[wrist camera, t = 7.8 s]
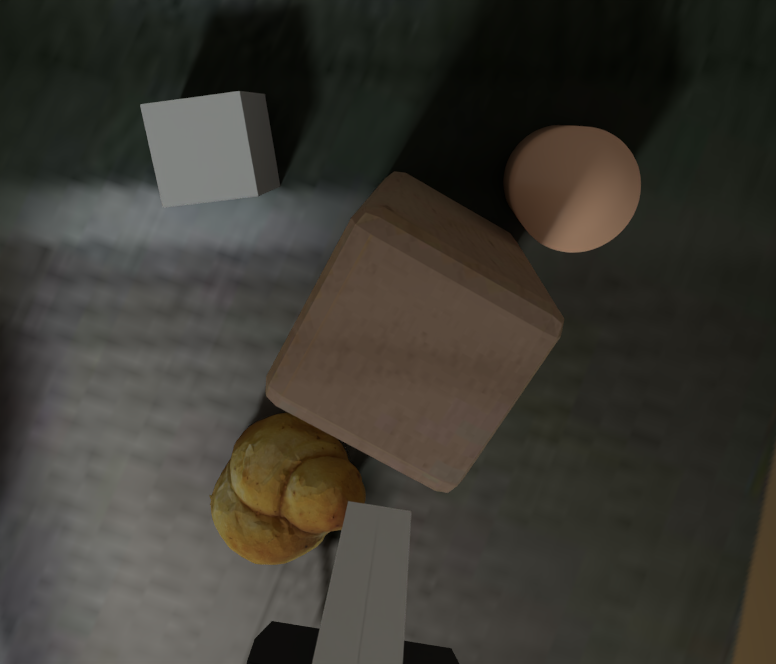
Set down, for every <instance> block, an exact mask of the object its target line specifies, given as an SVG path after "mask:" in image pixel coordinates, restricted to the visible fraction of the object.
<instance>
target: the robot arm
mask: <svg viewBox="0 0 776 664" xmlns="http://www.w3.org/2000/svg"><path fill="white" fill-rule="evenodd" d="M410 526H411V511H407V510H401V509H395V508H388V507H382V506H376V505H369V504H363V503H357V502H350V501H348V504H347V509H346V513H345V518H344V522H343V527H342V531H341V536H340V540H339V545H338V549H337V554H336V558H335V563H334V567H333V572H332V576H331V581H330V585H329V590H328V594H327V599H326V603H325V607H324V612H323V616H322V621H321V625H320V629H318V628H311V627H305V626H299V625H293V624H287V623H281V622H274V621H272V622H271V623H270V624H269V625H268V626H267V627H266V628H265V629H264V630H263V631H262V632H261V633H260V634H259V635H258V636H257V637H256V638H255V640H254V643H253V646H252V649H251V651H250V654H249V657H248V660H247V664H459V662H458V660H457V659H456V657H455V655H454V653H453V651H452V649H451V648H446V647H439V646H433V645H427V644H421V643H415V642H409V641H404V632H405V614H406V597H407V579H408V561H409V544H410Z"/></svg>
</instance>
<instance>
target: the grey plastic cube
mask: <svg viewBox="0 0 776 664" xmlns="http://www.w3.org/2000/svg"><path fill="white" fill-rule="evenodd" d="M140 106H141V111H142V115H143V120H144V124H145V129H146V134H147V138H148V143H149V147H150V152H151V156H152V161H153V165H154V170H155V174H156V179H157V183H158V188H159V192H160V197H161V202H162V206H163V208H164V207H172V206H181V205H189V204H197V203H206V202H214V201H222V200H230V199H239V198H247V197H255V196H260V195H262V194H264V193H266V192H269V191H271V190H273V189H275V188H278V187H280V182H279V176H278V170H277V164H276V158H275V152H274V146H273V140H272V134H271V128H270V122H269V116H268V110H267V104H266V98H265V94H260V93H252V92H244V91H235V92H228V93H221V94H214V95H206V96H199V97H192V98H184V99H177V100H170V101H163V102H155V103H148V104H141V105H140Z"/></svg>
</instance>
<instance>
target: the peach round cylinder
mask: <svg viewBox="0 0 776 664" xmlns="http://www.w3.org/2000/svg"><path fill="white" fill-rule="evenodd" d="M503 188H504V194H505V198H506V201H507V203H508V205H509V207H510V209H511V211H512V212H513V213H514V215H515V216H516V217H517V219H518V220H519V221H520V223H521V224H522V225H523V226H524V228H525V229H526V230H527V231H528V233H529V234H530V235H531V236H532V237H533V238H534V239H535V240H537V241H538V242H540V243H541V244H543V245H545V246H547V247H549V248H551V249H554V250H558V251H562V252H583V251H588V250H592V249H595V248H597V247H600V246H602V245H604V244H606V243H607V242H609V241H611V240H612V239H613V238H615V237H616V236H617V235H618V234H619V233H620V232H621V231H622V230H623V229H624V228H625V227H626V225H627V224H628V223H629V221H630V220H631V218H632V216H633V214H634V212H635V210H636V208H637V205H638V202H639V197H640V191H641V179H640V172H639V168H638V165H637V162H636V160H635V158H634V156H633V154H632V152H631V151H630V150H629V148H628V147H627V146H626V145H625V144H624V143H623V142H622V141H621V140H620V139H619V138H617V137H616V136H614V135H613V134H611V133H609V132H607V131H604V130H602V129H598V128H594V127H585V126H572V125H552V126H547V127H544V128H541V129H538V130H536V131H534V132H532V133H531V134H529V135H528V136H526V137H525V138H524V139H523V140H522V141H521V142H520V143H519V144H518V145H517V146H516V147H515V149H514V150H513V151H512V153H511V155H510V157H509V159H508V161H507V164H506V167H505V171H504V177H503Z"/></svg>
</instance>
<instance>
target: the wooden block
mask: <svg viewBox="0 0 776 664" xmlns="http://www.w3.org/2000/svg"><path fill="white" fill-rule="evenodd" d="M563 323H564V318H563V316H562V314H561V313H560V311H559V310H558V308H557V306H556V305H555V303H554V301H553V300H552V298H551V297H550V295H549V293H548V292H547V290H546V289H545V287H544V285H543V284H542V282H541V280H540V279H539V277H538V276H537V274H536V272H535V271H534V269H533V268H532V266H531V264H530V263H529V261H528V259H527V258H526V256H525V255H524V253H523V251H522V250H521V248H520V247H519V245H518V243H517V242H516V240H515V239H514V238H513V236H512V235H511V234H510V233H509V232H507V231H506V230H504V229H502V228H500V227H499V226H497V225H495V224H494V223H492V222H490V221H488V220H487V219H485V218H483V217H481V216H480V215H478V214H476V213H474V212H473V211H471V210H469V209H468V208H466V207H464V206H462V205H461V204H459V203H457V202H455V201H454V200H452V199H450V198H448V197H447V196H445V195H443V194H442V193H440V192H438V191H436V190H435V189H433V188H431V187H429V186H428V185H426V184H424V183H422V182H421V181H419V180H417V179H416V178H414V177H412V176H410V175H409V174H407V173H403V172H395V171H394V172H393V173H391V174H390V175H389V176H388V177H386V178H385V179H384V180H383V181H382V183H381V184H380V185H379V186H378V187H377V188H376V190H375V191H374V192H373V193H372V194H371V195H370V197H369V198H368V199H367V200H366V201H365V202H364V204H363V205H362V206H361V207H360V208H359V209H358V211H357V212H356V213H355V214H354V215H353V216H352V217H351V219H350V221H349V223H348V225H347V227H346V229H345V230H344V232H343V234H342V236H341V238H340V240H339V242H338V243H337V245H336V247H335V249H334V251H333V253H332V255H331V257H330V258H329V260H328V262H327V264H326V266H325V268H324V270H323V271H322V273H321V275H320V277H319V279H318V281H317V283H316V285H315V286H314V288H313V290H312V292H311V294H310V296H309V298H308V300H307V301H306V303H305V305H304V307H303V309H302V311H301V313H300V314H299V316H298V318H297V320H296V322H295V324H294V326H293V328H292V329H291V331H290V333H289V335H288V337H287V339H286V341H285V343H284V344H283V346H282V348H281V350H280V352H279V354H278V356H277V357H276V359H275V361H274V363H273V365H272V367H271V369H270V371H269V372H268V374H267V376H266V396H267V398H268V399H269V400H270V401H271V402H272V403H273V404H274V405H275V406H277V407H279V408H281V409H283V410H284V411H286V412H288V413H290V414H292V415H294V416H296V417H298V418H299V419H301V420H303V421H305V422H307V423H309V424H311V425H313V426H315V427H316V428H318V429H320V430H322V431H324V432H326V433H328V434H330V435H331V436H333V437H335V438H337V439H339V440H341V441H343V442H345V443H347V444H348V445H350V446H352V447H354V448H356V449H358V450H360V451H362V452H363V453H365V454H367V455H369V456H371V457H373V458H375V459H377V460H379V461H380V462H382V463H384V464H386V465H388V466H390V467H392V468H394V469H396V470H397V471H399V472H401V473H403V474H405V475H407V476H409V477H411V478H412V479H414V480H416V481H418V482H420V483H422V484H424V485H426V486H428V487H429V488H431V489H433V490H435V491H441V492H446V493H448V492H449V491H451V490H452V489H453V488H455V487H456V486H457V485H458V484H459V483H460V482H461V481H462V480H463V479H464V477H465V476H466V474H467V473H468V471H469V470H470V468H471V467H472V465H473V464H474V462H475V461H476V460H477V458H478V457H479V455H480V454H481V452H482V451H483V449H484V448H485V446H486V445H487V443H488V442H489V441H490V439H491V438H492V436H493V435H494V433H495V432H496V430H497V429H498V427H499V426H500V424H501V423H502V421H503V420H504V419H505V417H506V416H507V414H508V413H509V411H510V410H511V408H512V407H513V405H514V404H515V402H516V401H517V400H518V398H519V397H520V395H521V394H522V392H523V391H524V389H525V388H526V386H527V385H528V383H529V382H530V380H531V379H532V378H533V376H534V375H535V373H536V372H537V370H538V369H539V367H540V366H541V364H542V363H543V361H544V360H545V359H546V357H547V356H548V354H549V353H550V351H551V350H552V348H553V347H554V345H555V344H556V342H557V341H558V339H559V338H560V337H561V332H562V328H563Z"/></svg>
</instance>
